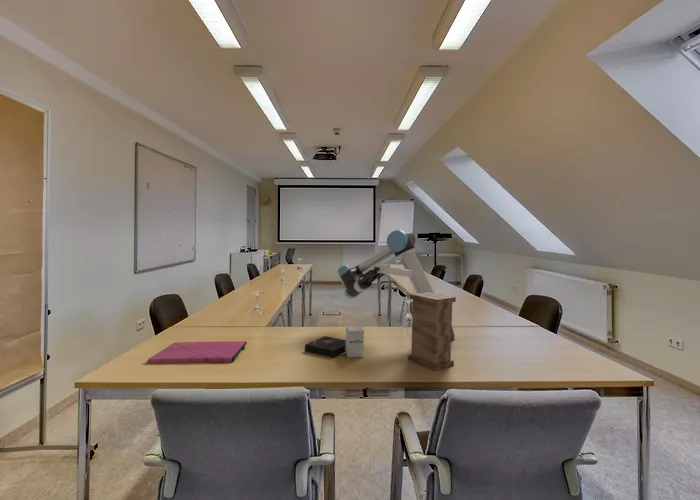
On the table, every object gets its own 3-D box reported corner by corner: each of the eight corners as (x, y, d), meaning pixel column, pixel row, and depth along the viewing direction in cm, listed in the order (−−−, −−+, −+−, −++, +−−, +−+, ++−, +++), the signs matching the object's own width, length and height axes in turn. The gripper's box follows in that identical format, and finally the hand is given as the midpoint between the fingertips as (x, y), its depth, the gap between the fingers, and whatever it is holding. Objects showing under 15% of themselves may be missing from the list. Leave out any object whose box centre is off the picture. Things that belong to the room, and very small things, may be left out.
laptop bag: (146, 355, 150) (173, 338, 177) (146, 365, 150) (173, 346, 177) (242, 354, 153) (254, 337, 180) (242, 363, 153) (254, 345, 180)
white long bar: (378, 271, 190) (378, 266, 189) (412, 276, 168) (412, 270, 168) (373, 272, 188) (373, 266, 188) (407, 276, 166) (407, 270, 166)
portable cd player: (323, 343, 183) (324, 335, 183) (352, 349, 175) (352, 341, 174) (304, 352, 169) (304, 344, 169) (333, 359, 160) (334, 350, 160)
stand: (426, 354, 167) (428, 292, 166) (453, 365, 154) (455, 297, 153) (408, 359, 160) (409, 294, 159) (434, 370, 147) (436, 299, 146)
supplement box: (347, 358, 161) (348, 330, 160) (345, 352, 168) (345, 326, 167) (363, 357, 162) (364, 330, 161) (360, 352, 169) (360, 326, 169)
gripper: (376, 288, 202) (400, 271, 184) (353, 290, 193) (376, 272, 175) (372, 276, 205) (395, 258, 187) (349, 278, 195) (372, 259, 178)
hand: (386, 265), depth 181 cm, fingers closed on white long bar, 3 cm apart
